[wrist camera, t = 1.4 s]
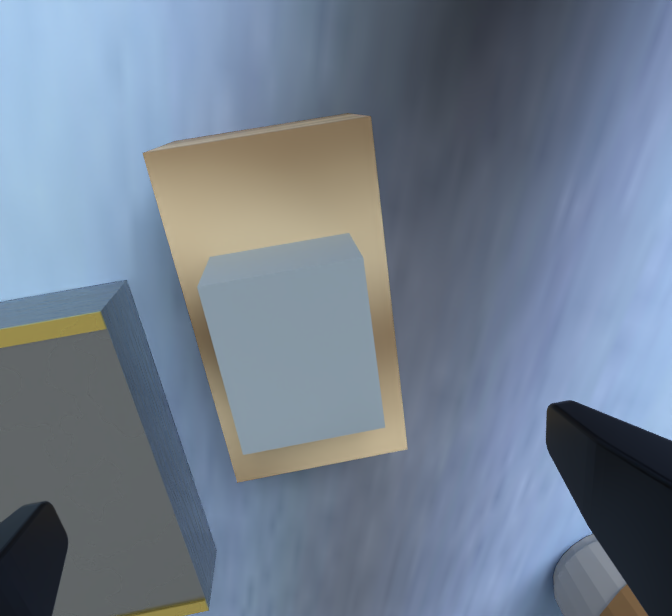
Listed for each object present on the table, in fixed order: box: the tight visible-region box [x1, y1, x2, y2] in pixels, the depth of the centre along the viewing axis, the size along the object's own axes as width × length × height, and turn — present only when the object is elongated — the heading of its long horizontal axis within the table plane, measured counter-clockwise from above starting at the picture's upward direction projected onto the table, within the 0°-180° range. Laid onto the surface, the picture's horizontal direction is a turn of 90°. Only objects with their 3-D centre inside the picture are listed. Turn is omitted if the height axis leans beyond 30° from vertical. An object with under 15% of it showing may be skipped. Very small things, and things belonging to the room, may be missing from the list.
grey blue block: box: [197, 233, 385, 455], centre depth 14 cm, size 5×4×2 cm
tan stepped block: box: [143, 113, 407, 483], centre depth 17 cm, size 11×6×4 cm, turn 8°
